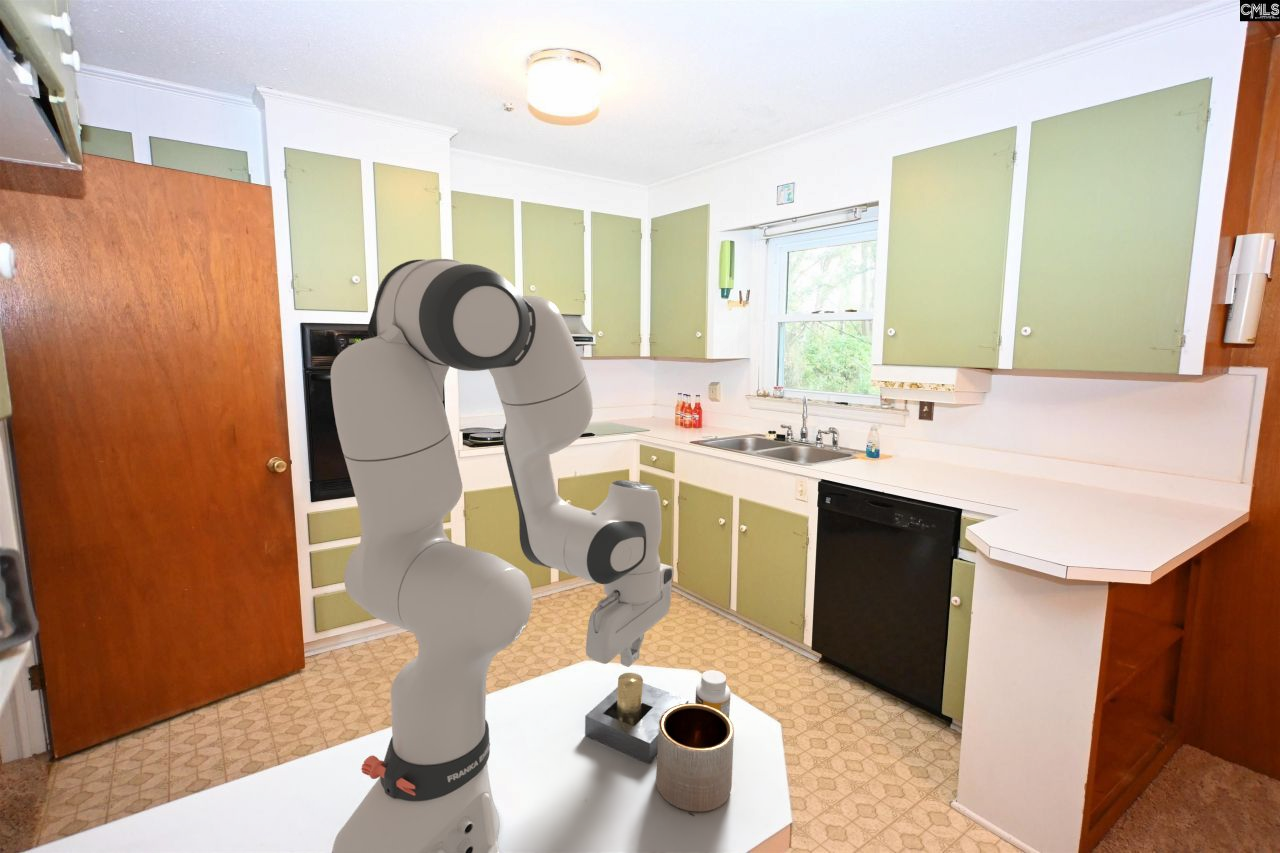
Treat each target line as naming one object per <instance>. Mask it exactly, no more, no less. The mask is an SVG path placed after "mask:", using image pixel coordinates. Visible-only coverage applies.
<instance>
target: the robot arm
mask: <svg viewBox="0 0 1280 853" xmlns="http://www.w3.org/2000/svg"><path fill="white" fill-rule="evenodd" d="M373 332H374V333H375V335H376V336H375V335H374V333H373ZM367 333H368V337H369V338H365V339H363V340H360V341H357V342H355V343H353V344H351V345H349V346H347V347H346V348H344V349H343V350H342V351H341V352H340V353H339V354H337V356H336V357H335V358H334V360H333V362H332V364H331V368H330V387H331V388H330V389H331V398H332V399H331V400H332V406H333V413H334V418H335V425H336V429H337V430H336V431H337V435H338V440H339V442H340V448H341V450H342V453H343V457H344V460H345V464H346V467H347V471H348V474H349V478H350V481H351V485H352V488H353V493H354V496H355V500H356V503H357V507H358V512H359V517H360V542H359V543H358V544H357V546H356V547H355V548H354V550H353V551H352V552H351V554H350V556H349V558H348V560H347V561H346V562H347V563H346V566H345V570H344V575H343V576H344V577H343V579H344V580H343V582H344V588H345V590H346V593H347V594H348V597H349V598H350V599H351V600H352V601H353V602H355V603H356V605H358V606H359V607H360V608H361V609H363V610H364V611H365V612H367V613H368V614H369V615H370V616H372V617H374V618H375V619H377V620H380V621H382V622H385V623H387V624H390V625H393V626H395V627H398V628H401V629H403V630H406V631H409V632H411V633H413V634H414V637H415V639H416V641H417V646H418V649H417V650H418V651H417V652H418V654H417V656H416V657H414V658H413V659H411V660H410V661H409V662H407V663H406V664H405V665H404V666H403V667H402V668H401V669H400V670H399V672H398V673H397V675H396V676H395V678H394V679H393V681H392V683H391V687H390V710H391V713H390V714H391V733H392V734H391V738H390V741H389V743H388V746H387V750H386V753H385V756H384V760H380V758H378V757H377V756H375V755H369V756H368V757H367V758H365V760H364V761H363V764H362V765H361V768H360V770H361V772H362V774H364V775H366V776H369V777H370V778H371V779H372V780H376V779H378V780H376V782H375V783H374V785H372V787H371V788H370V790H368V792H367V794H366V795H365V796H364V798H363V799H362V800H361V802H360V803H359V805H358V806H357V808H355V810H354V811H353V813H352V814H351V815H350V817H349V818H348V819H347V821H346V822H345V824H343V826H342V827H341V828H340V830H339V831H338V833H337V835H336V837H335V838H334V839H335V840H334V841H333V842H334V843H333V846H332V849H331V853H500V849H499V844H498V838H499V833H500V828H501V823H500V822H501V821H500V815H499V812H498V810H497V807H496V804H495V802H494V798H493V794H492V788H491V783H490V776H489V769H488V761H489V758H490V751H491V750H490V747H491V746H490V745H491V743H490V728H489V723H488V721H487V718H486V703H487V702H486V701H487V700H486V696H487V693H486V692H487V678H488V672H489V669H490V666H491V663H492V661H493V659H494V657H495V656H496V655H497V654H498V653H500V652H502V651H505V649H507V648H508V647H509V646H511V645H512V644H513V643H515V641H516V640H517V639H518V638H519V637H520V636H521V635H522V633H523V632H524V630H525V628H526V626H527V624H528V622H529V619H530V617H531V613H532V608H533V591H532V585H531V581H530V579H529V577H528V576H527V574H526V573H525V572H524V571H523V570H521V569H520V568H518V567H516V566H515V565H514V564H512V563H510V562H508V561H506V560H504V559H503V558H501V557H499V556H497V555H496V554H493V553H490V552H486V551H482V550H479V549H475V548H472V547H468V546H464V545H461V544H457V543H454V542H452V541H451V540H450V538H448V536H447V534H446V532H445V529H444V518H446V517H447V516H448V515H449V514H450V513H451V512H452V511H453V509H454V508H455V507H456V505H457V504H458V502H459V500H460V499H461V497H462V494H463V481H462V478H461V472H460V469H459V464H458V459H457V455H456V450H455V446H454V442H453V437H452V433H451V428H450V424H449V421H448V417H447V412H446V408H445V405H444V403H443V401H444V386H445V380H446V376H447V374H448V371H449V370H450V367H451V368H453V369H456V370H460V371H464V372H465V371H466V372H477V371H478V372H479V371H480V372H481V371H487V370H488V372H489V373H490V375H491V377H492V378H493V381H494V384H495V387H496V388H495V389H496V391H497V394H498V397H499V400H500V404H501V405H502V409H503V413H504V417H505V424H504V427H503V431H502V432H503V433H502V443H503V444H502V445H503V452H504V456H505V462H506V465H507V469H508V473H509V478H510V482H511V486H512V489H513V494H514V499H515V503H516V506H517V511H518V521H519V523H518V524H519V526H518V527H519V529H518V530H519V531H518V532H519V534H518V536H519V542H520V548H521V551H522V554H524V557H526V559H527V560H528V561H529V562H531V563H532V564H534V565H538V566H542V567H545V568H550V569H555V570H557V571H560V572H563V573H565V574H568V575H571V576H573V577H576V578H580V579H582V580H585V581H589V582H591V583H595V584H599V585H603V592H604V594H605V597H604V598H602V599H600V600H599V601H598V602H597V603H596V604H597V605H596V607H595V608H594V609H593V610H592V611H591V613H590V615H589V619H588V624H587V631H586V632H587V633H586V642H585V654H586V656H587V657H588V658H589V659H590V660H592V661H595V662H597V663H601V664H604V665H605V664H609V663H610V662H611V661H612V660H613V659H615V658H616V657H618V655H620V664H621V665H622V666H624V667H626V668H627V667H628V668H629V667H631V666H632V665H633V664H635V662H636V661H638V659H640V653H641V652H640V650H641V647H642V644H643V641H644V638H645V633H647V632H648V631H649V630H650V629H651V628H653V627H654V626H655V625H656V624H657V623H659V622H660V621H661V620H663V618H665V617H666V616H667V615H668V613H669V611H670V608H671V602H672V587H673V586H672V585H673V584H672V580H673V578H674V576H675V574H674V573H675V567H673V566H671V565H668V564H665V563H662V562H661V558H660V554H659V548H660V544H661V541H662V531H663V530H662V529H663V528H662V524H663V523H662V508H661V499H660V495H659V491H658V490H657V488H655V487H654V486H653V485H650V484H648V483H644V482H639V481H633V480H626V479H625V480H624V479H623V480H622V479H621V480H614V481H613V482H611V483H610V484H609V487H608V488H609V489H608V492H607V496H606V498H604V500H603V501H602V502H601V503H600V504H599V506H597V507H596V508H594V509H593V510H587V509H585V508H581V507H577V506H574V505H572V504H570V503H568V502H567V501H566V500H564V499H563V498H562V497H561V496H560V495H559V494H558V492H557V488H556V483H555V479H554V473H553V468H552V463H551V459H550V458H551V457H550V455H553V454H555V453H558V452H560V451H562V450H564V449H565V448H567V447H569V446H570V445H572V443H574V442H575V441H577V440H578V439H579V438H580V437H581V436H582V435H583V434H584V432H585V431H586V430H587V429H588V426H589V424H590V422H591V419H592V416H593V409H594V408H593V406H594V405H593V398H592V396H593V395H592V392H591V388H590V385H589V382H588V378H587V376H586V371H585V367H584V365H583V362H582V358H581V356H580V353H579V351H578V348H577V345H576V343H575V341H574V340H575V339H574V338H573V334H571V331H570V329H569V327H568V325H567V323H566V321H565V318H564V317H563V315H562V313H561V311H560V310H559V308H558V307H557V306H556V304H554V302H552V301H551V300H549V299H547V298H544V297H541V296H536V295H521V294H520V293H519V291H518V290H517V288H516V287H515V286H514V285H513V284H512V283H511V282H510V281H508V280H507V278H505V277H504V276H502V275H501V274H499V273H498V272H496V271H494V270H492V269H490V268H489V267H486V266H483V265H480V264H479V265H478V264H474V263H473V264H471V263H463V262H460V261H458V260H453V259H450V258H449V259H448V258H430V259H413V260H408V261H405V262H403V263H400V264H398V265H397V266H396V267H394V268H392V269H391V270H390V271H389V272H388V273H387V274H386V275H385V276H384V277H383V279H382V280H381V282H380V284H379V286H378V289H377V290H376V295H375V299H374V306H373V309H372V313H371V316H370V320H369V323H368V326H367Z"/></svg>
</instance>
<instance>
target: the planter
mask: <svg viewBox="0 0 1280 853" xmlns="http://www.w3.org/2000/svg"><path fill="white" fill-rule="evenodd" d="M734 740H735V729H734V725H733V723H732V721H731V719H730V717H729V718H728V717H727V716H726V715H725V714H724V713H722V712H721V711H719V710H717V709H715V708H713V707H710V706H707V705H703V704H695V702H694V703H691V702H690V703H689V702H688V704H681V705H677V706H674V707H672V708H670V709H668V710H667V711H665V712H664V713H663V714H662V716H661V718H660V720H659V730H658V751H657V756H656V768H655V769H656V772H655V778H656V779H655V782H656V787H657V790H658V792H659V793H660V795H661V796H662V798H663V799H664V800H666V801H667V802H668V803H669V804H671V805H672V806H674V807H676V808H678V809H681V810H683V811H687V812H694V813H697V812H698V813H700V812H701V813H703V812H708V811H711V810H715V809H717V808H718V807H721V805H723V804H724V803H726V801H727V800H728V798H729V797H730V795H731V790H732V786H733V785H732V784H733V762H734V761H733V759H734V757H733V755H734Z"/></svg>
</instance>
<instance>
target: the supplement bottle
mask: <svg viewBox="0 0 1280 853" xmlns="http://www.w3.org/2000/svg"><path fill="white" fill-rule="evenodd" d="M694 704H703V705H707V706H710V707H713V708H715V709H717V710H719V711H721V712H722V713H724V714H725V715H726V716H727V717H728V718H729V719H730V710H731V708H730V707H731V689H730V687H729V686H728V685H727V676H726V674H724V673H723V672H721V671H719V670H718V671H717V670H714V669H713V670H711V669H709V670H706V671H704V672H703V673H702V675H701V680H700V682H699V683H698V684H697V685H696V689H695V702H694Z"/></svg>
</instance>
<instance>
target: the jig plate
mask: <svg viewBox="0 0 1280 853" xmlns="http://www.w3.org/2000/svg"><path fill="white" fill-rule="evenodd" d="M617 693H618V686H617V687H616V688H614V690H612V691H611V692H610V693H609V694H608V695H607V696H606V697H605V698H604V699H603V700H601V701H600V702H599V703H598V704H597V705H596V706H594V707H593V708H592V709H591V710H590V711H589V712H588V713H587V714H585V717H584V725H585V726H584V735H585V737H587V738H590V739H591V740H594V741H597V743H601V744H603V745H604V746H607V747H609V748H612V749H614V750H616V751H619V752H621V753H623V754H625V755H627V756H630V757H632V758H634V759H637V760H639V761H641V762H643V763H645V764H647V765H650V764H651V763H652V762H653V761H654V760H655V758H657V751H658V730H659V720H660V718H661V716H662V714H663V713H664V712H665V711H667V710H668V709H670V708H672V707H674V706H677V705H681V704H688V703H689V699H687V698H685V697H682V696H679V695H676V694H674V693H672V692H669V691H665V690H662V689H660V688H657V687H655V686H652V685H650V684H647V683H644V682H643V687H642V704H641V720H640V721H639V722H638V723H637V724H636V725H635V727H634V726H631V725H629V724H627V723H624V722H622V721H619V720H617V719H616V712H617Z"/></svg>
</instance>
